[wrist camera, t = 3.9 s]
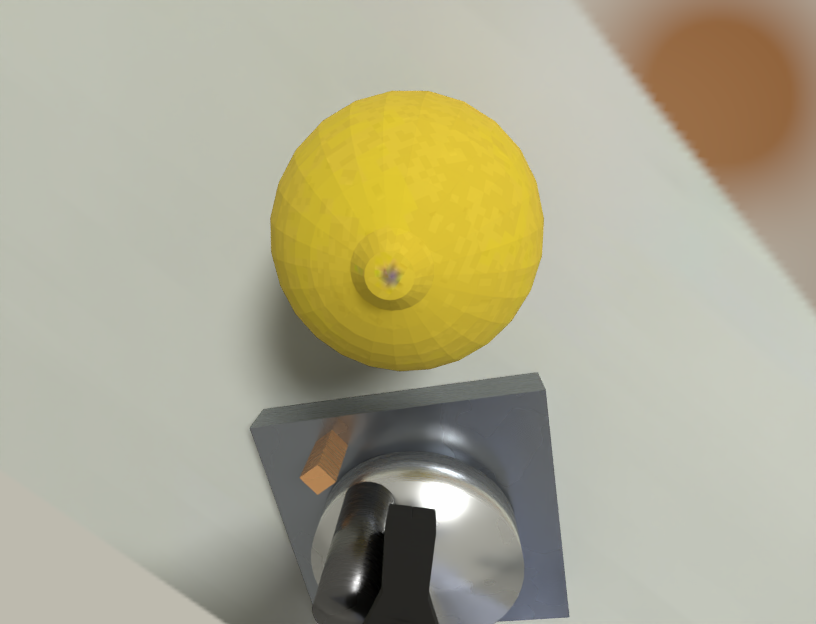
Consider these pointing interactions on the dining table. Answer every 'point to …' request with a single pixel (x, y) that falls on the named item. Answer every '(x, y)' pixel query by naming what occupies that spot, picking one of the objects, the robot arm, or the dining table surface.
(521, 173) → the lemon
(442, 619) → the dial
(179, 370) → the dining table surface
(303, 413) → the dial plate
